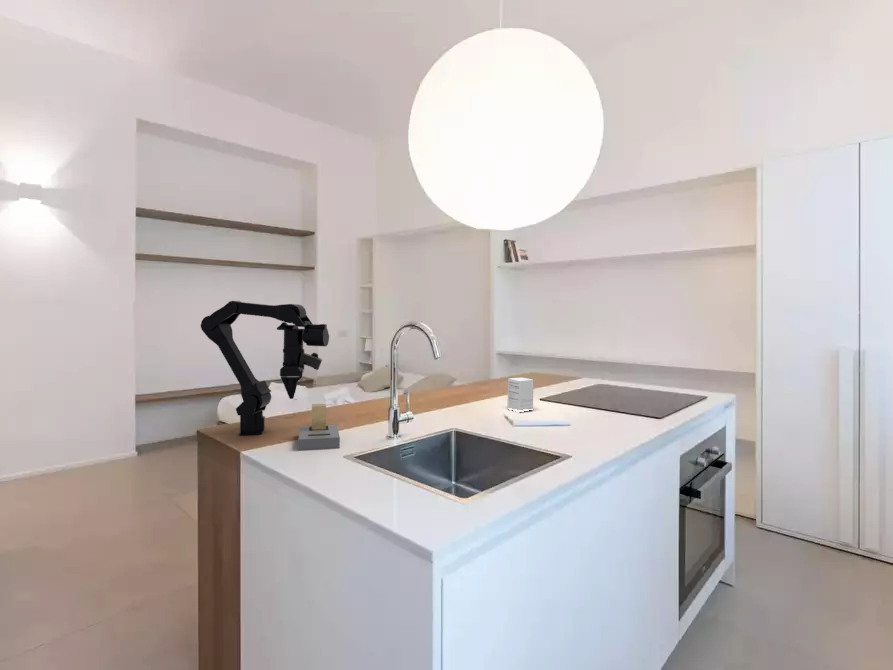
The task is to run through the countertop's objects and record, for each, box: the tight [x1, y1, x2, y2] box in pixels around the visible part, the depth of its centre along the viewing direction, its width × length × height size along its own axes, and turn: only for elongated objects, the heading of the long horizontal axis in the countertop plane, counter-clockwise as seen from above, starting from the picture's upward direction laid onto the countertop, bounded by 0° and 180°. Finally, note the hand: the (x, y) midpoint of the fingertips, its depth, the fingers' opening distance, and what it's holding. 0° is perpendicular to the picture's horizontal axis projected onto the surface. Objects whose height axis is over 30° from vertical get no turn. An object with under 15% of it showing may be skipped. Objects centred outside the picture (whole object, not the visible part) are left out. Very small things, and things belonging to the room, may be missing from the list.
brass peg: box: [311, 403, 327, 431], centre depth 144 cm, size 4×4×10 cm
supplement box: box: [507, 377, 534, 410], centre depth 191 cm, size 7×7×13 cm
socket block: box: [297, 424, 341, 451], centre depth 141 cm, size 11×16×3 cm
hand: (292, 396), depth 149 cm, fingers open, 9 cm apart
